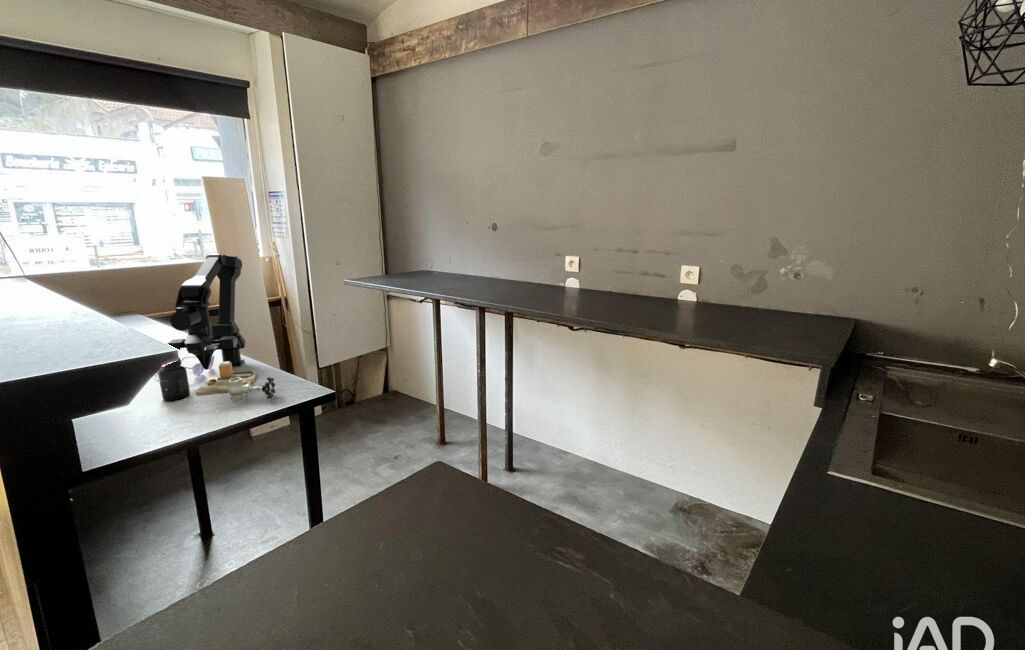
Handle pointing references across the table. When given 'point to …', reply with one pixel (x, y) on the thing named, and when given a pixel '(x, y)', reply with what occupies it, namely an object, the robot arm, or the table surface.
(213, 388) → the panel
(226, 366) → the orange rectangular block
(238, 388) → the valve
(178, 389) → the supplement bottle
